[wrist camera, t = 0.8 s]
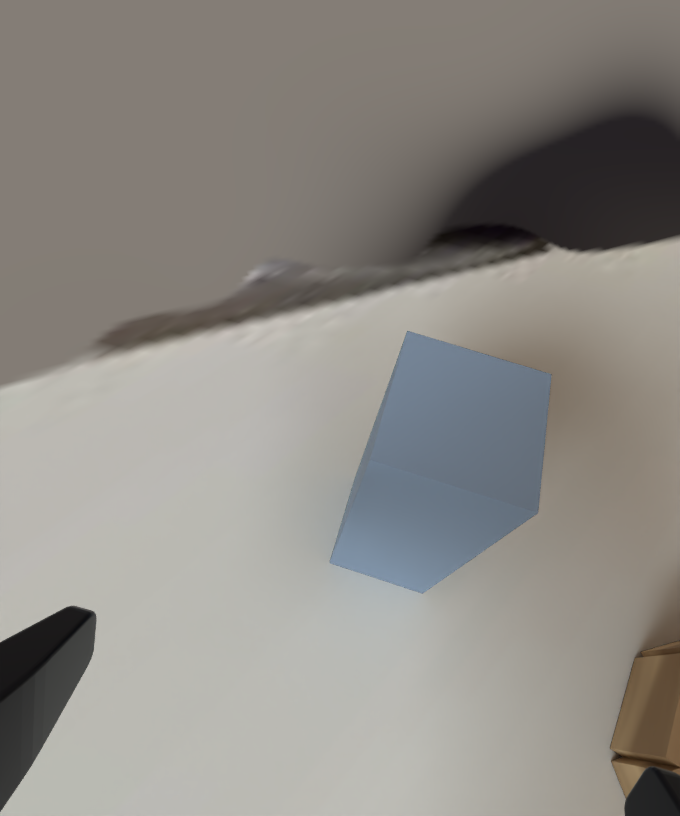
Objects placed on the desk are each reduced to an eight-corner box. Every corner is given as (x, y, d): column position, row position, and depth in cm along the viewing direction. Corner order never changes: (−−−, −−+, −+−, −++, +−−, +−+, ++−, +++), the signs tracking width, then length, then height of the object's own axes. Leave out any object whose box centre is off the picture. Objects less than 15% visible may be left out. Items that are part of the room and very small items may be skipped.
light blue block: (422, 593, 23) (538, 513, 13) (329, 562, 24) (370, 459, 13) (440, 504, 26) (551, 374, 15) (355, 476, 26) (407, 330, 16)
